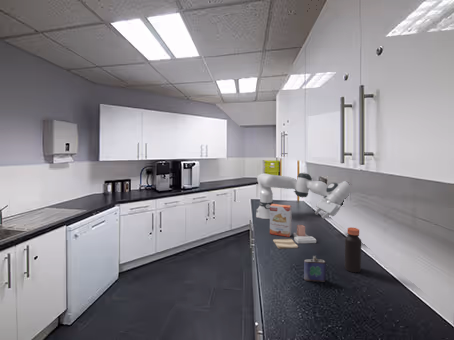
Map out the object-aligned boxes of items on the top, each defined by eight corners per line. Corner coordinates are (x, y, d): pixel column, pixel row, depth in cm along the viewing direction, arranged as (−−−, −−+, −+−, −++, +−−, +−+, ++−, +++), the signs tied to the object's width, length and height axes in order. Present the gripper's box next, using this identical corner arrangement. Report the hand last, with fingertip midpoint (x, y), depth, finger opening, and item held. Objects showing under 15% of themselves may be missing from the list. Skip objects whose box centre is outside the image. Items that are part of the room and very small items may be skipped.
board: (273, 240, 143) (273, 239, 142) (291, 240, 143) (291, 238, 143) (278, 248, 131) (278, 247, 131) (298, 247, 131) (298, 246, 131)
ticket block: (296, 236, 149) (297, 225, 149) (302, 236, 150) (302, 224, 149) (299, 238, 145) (299, 226, 145) (305, 238, 146) (305, 226, 145)
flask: (304, 281, 97) (304, 257, 97) (303, 277, 100) (303, 254, 99) (326, 282, 96) (326, 258, 95) (324, 278, 99) (324, 255, 98)
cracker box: (269, 234, 154) (269, 205, 153) (271, 231, 159) (271, 203, 158) (289, 237, 148) (289, 207, 146) (291, 234, 153) (291, 205, 151)
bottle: (353, 265, 110) (354, 226, 108) (364, 272, 103) (365, 231, 102) (341, 266, 109) (342, 227, 108) (351, 273, 102) (351, 232, 101)
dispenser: (290, 235, 151) (290, 232, 151) (307, 235, 152) (307, 231, 151) (297, 243, 137) (297, 240, 137) (316, 242, 138) (316, 239, 138)
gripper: (345, 208, 137) (330, 223, 137) (328, 201, 157) (315, 214, 157) (338, 201, 136) (323, 217, 136) (322, 195, 157) (309, 209, 157)
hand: (318, 215), depth 147 cm, fingers open, 8 cm apart
